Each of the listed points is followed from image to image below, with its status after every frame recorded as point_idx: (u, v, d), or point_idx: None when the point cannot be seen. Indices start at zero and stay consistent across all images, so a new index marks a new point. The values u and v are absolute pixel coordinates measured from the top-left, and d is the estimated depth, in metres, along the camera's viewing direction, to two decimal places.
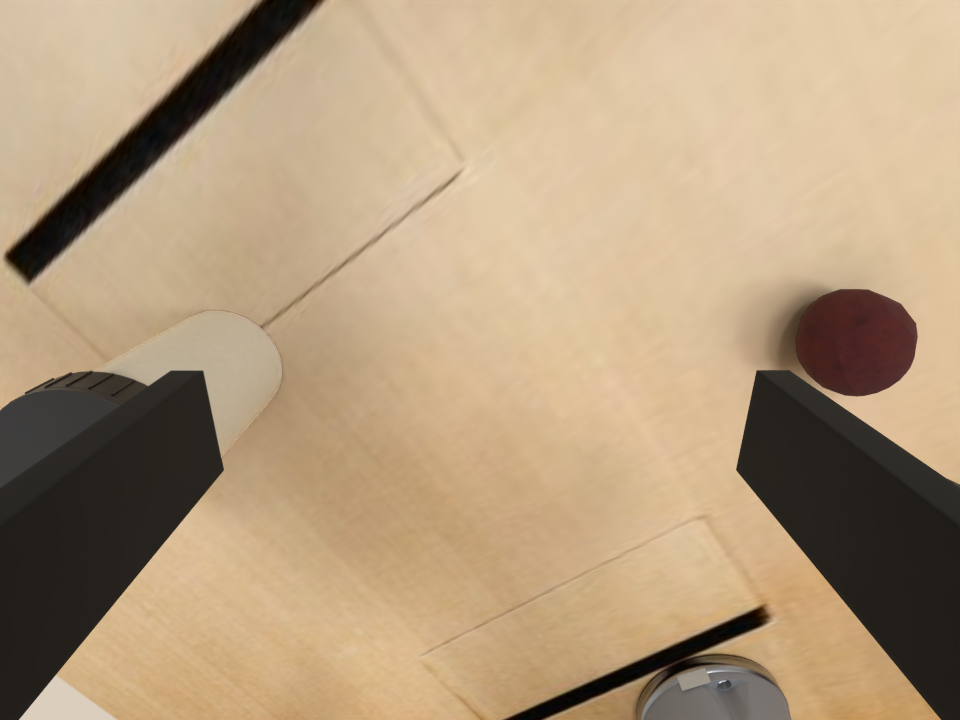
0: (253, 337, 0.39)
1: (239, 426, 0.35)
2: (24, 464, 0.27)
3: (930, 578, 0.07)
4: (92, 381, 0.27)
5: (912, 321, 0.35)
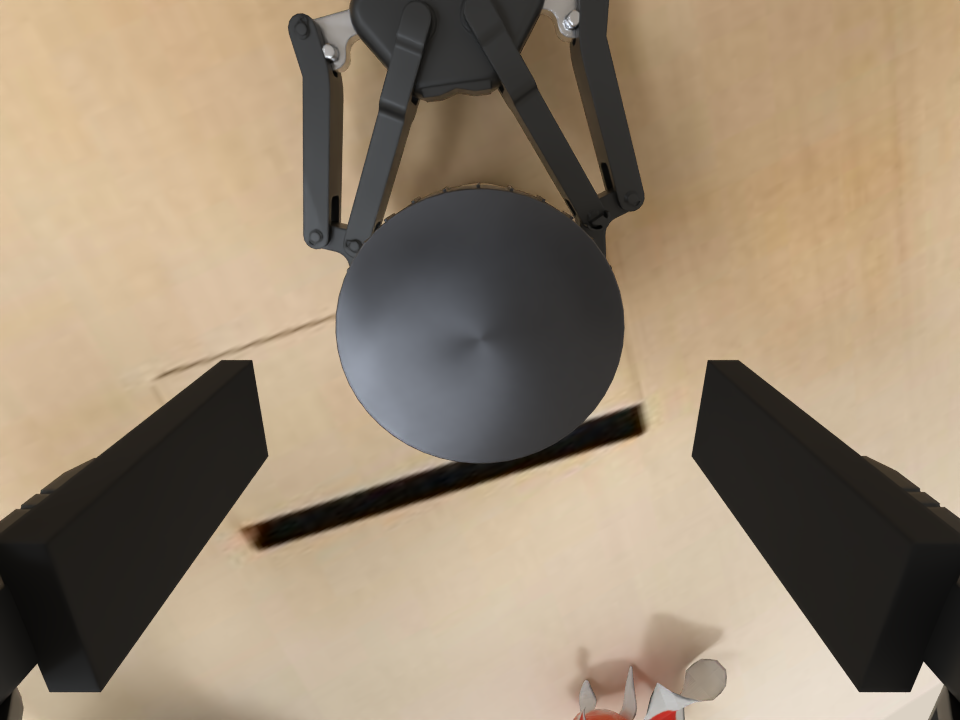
0: None
1: None
2: (549, 383, 0.19)
3: (840, 546, 0.08)
4: None
5: None
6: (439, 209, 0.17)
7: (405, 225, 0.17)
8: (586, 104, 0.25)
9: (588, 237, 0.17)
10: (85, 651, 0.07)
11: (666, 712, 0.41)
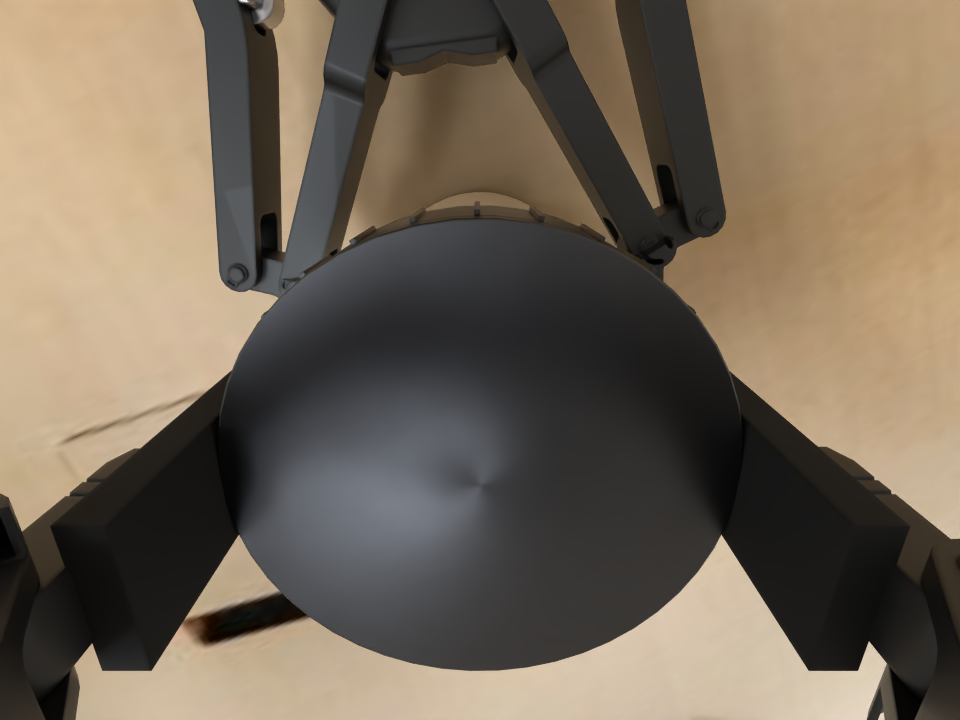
0: None
1: None
2: (602, 554, 0.11)
3: (793, 531, 0.08)
4: None
5: None
6: (401, 258, 0.09)
7: (336, 288, 0.09)
8: (639, 78, 0.17)
9: (688, 310, 0.09)
10: (138, 631, 0.08)
11: None
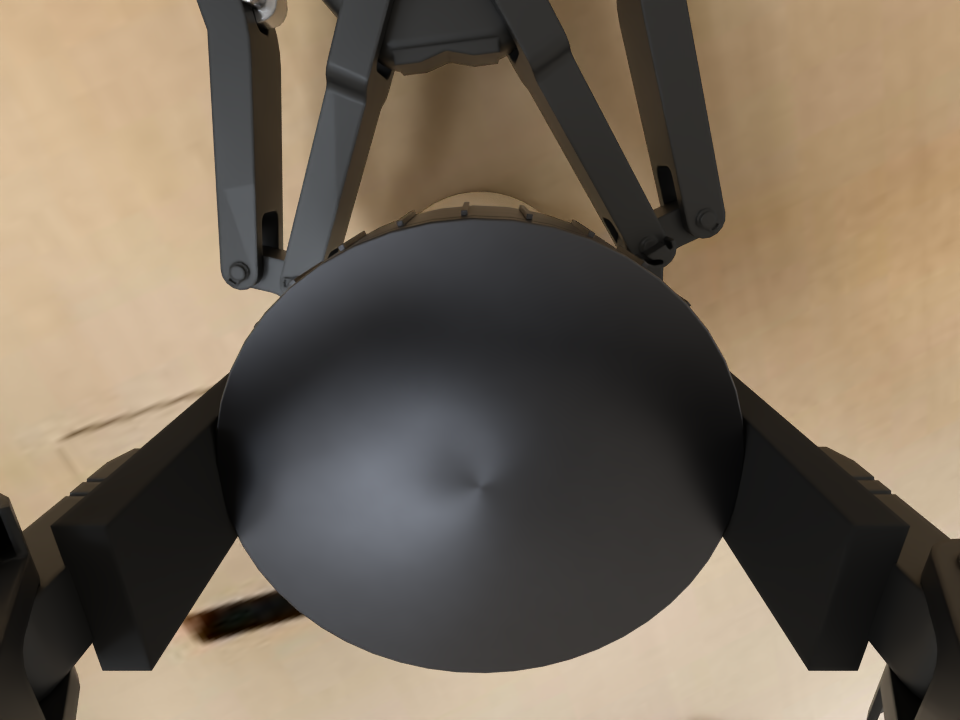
0: None
1: None
2: (544, 350, 0.09)
3: (793, 531, 0.08)
4: None
5: None
6: (285, 574, 0.11)
7: (324, 610, 0.11)
8: (639, 79, 0.17)
9: (241, 353, 0.09)
10: (138, 631, 0.08)
11: None
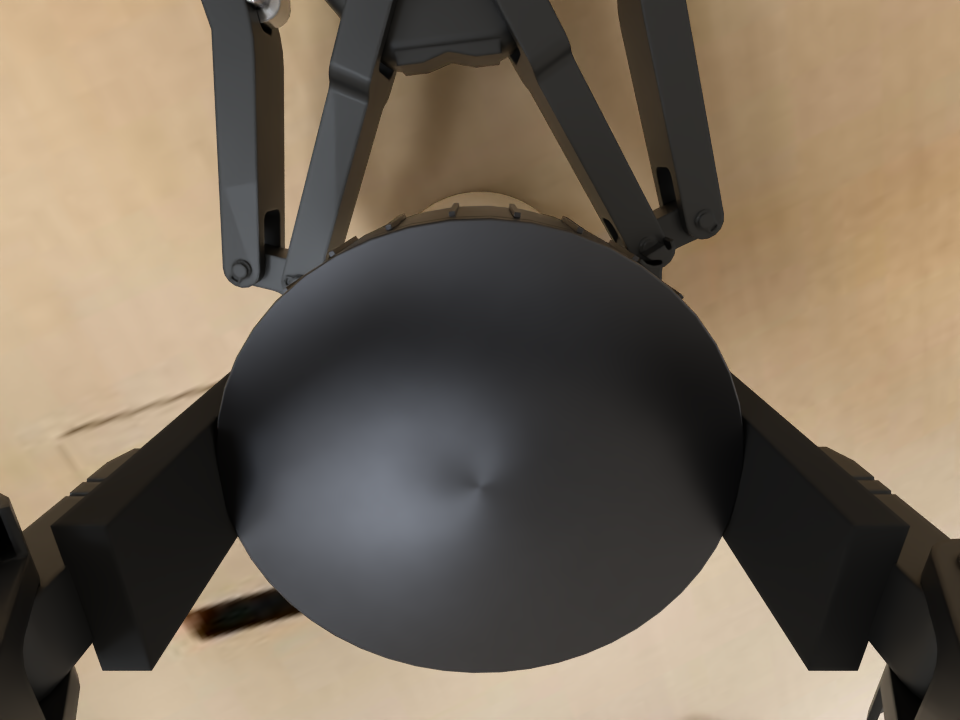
0: None
1: None
2: (323, 463, 0.10)
3: (792, 531, 0.08)
4: (495, 211, 0.09)
5: None
6: (614, 624, 0.11)
7: (657, 592, 0.11)
8: (639, 81, 0.17)
9: (397, 660, 0.12)
10: (138, 630, 0.08)
11: None
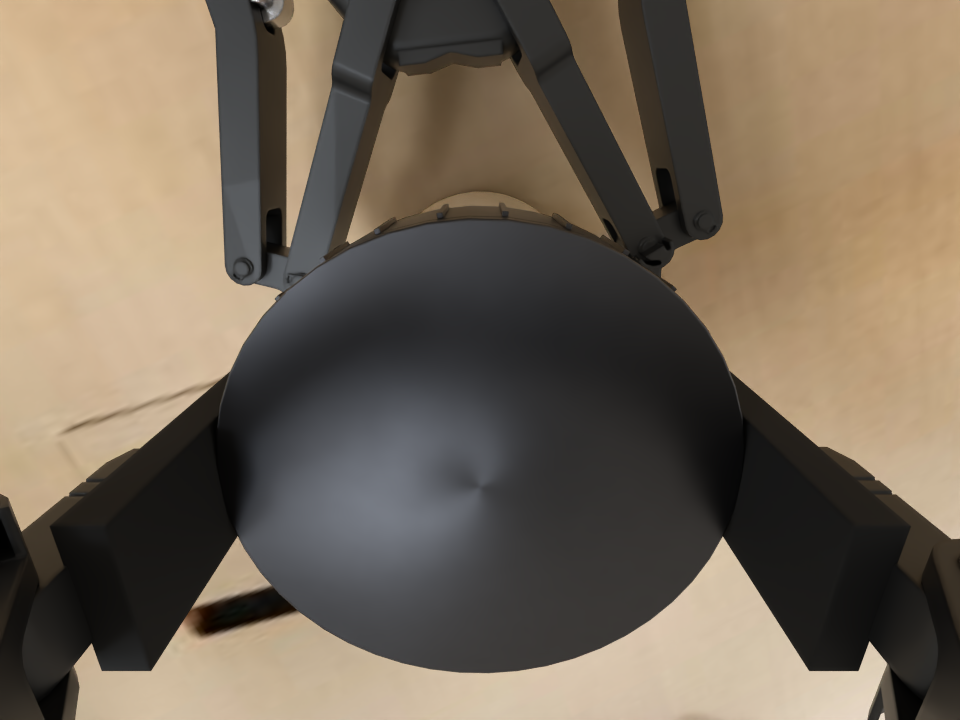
0: None
1: None
2: (483, 606, 0.11)
3: (793, 531, 0.08)
4: None
5: None
6: (650, 308, 0.09)
7: (591, 271, 0.09)
8: (640, 82, 0.17)
9: (726, 524, 0.10)
10: (138, 631, 0.08)
11: None
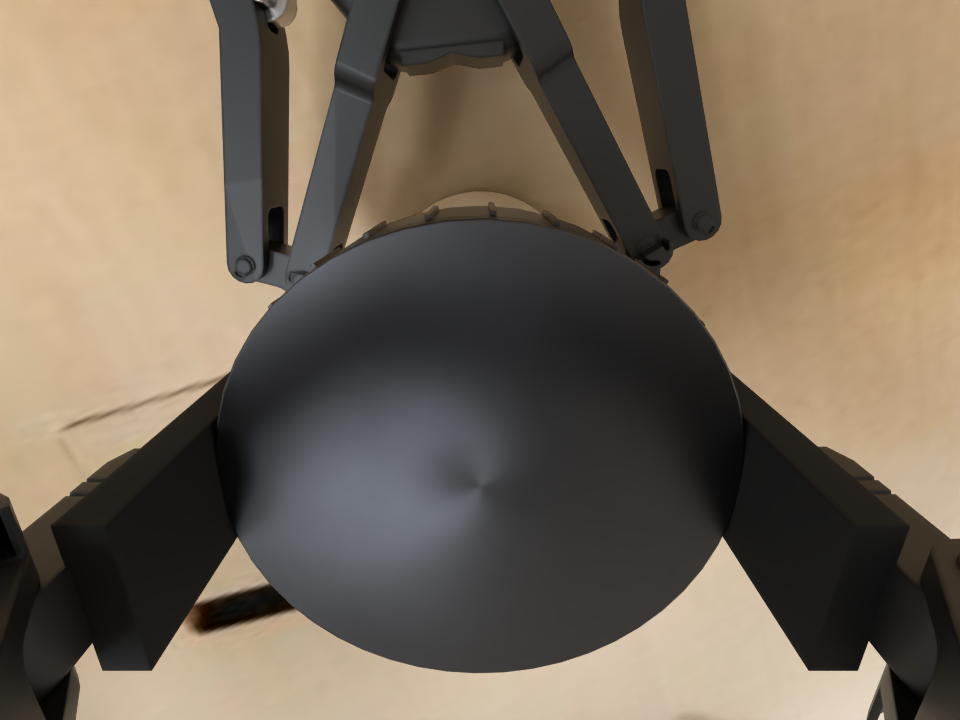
0: None
1: None
2: (636, 456, 0.10)
3: (793, 531, 0.08)
4: None
5: None
6: (251, 388, 0.09)
7: (239, 444, 0.10)
8: (640, 84, 0.17)
9: (472, 221, 0.08)
10: (138, 630, 0.08)
11: None
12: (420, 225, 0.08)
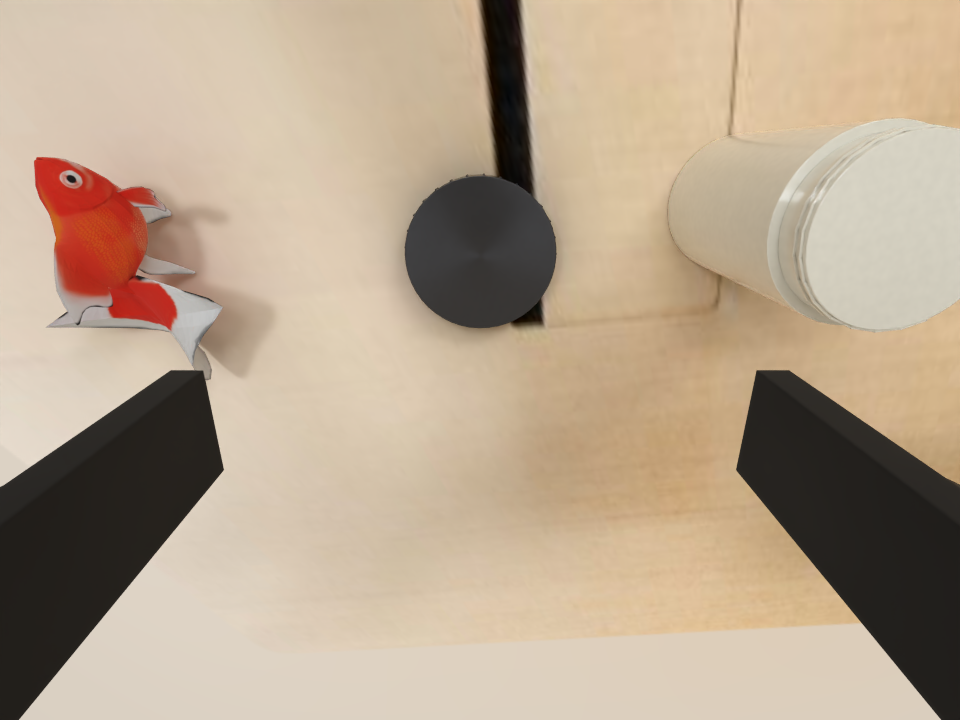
0: (747, 132, 0.33)
1: None
2: (525, 245, 0.35)
3: (930, 578, 0.07)
4: None
5: None
6: (417, 223, 0.34)
7: (412, 241, 0.35)
8: None
9: (478, 176, 0.33)
10: None
11: (172, 312, 0.34)
12: (465, 177, 0.33)
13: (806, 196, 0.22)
